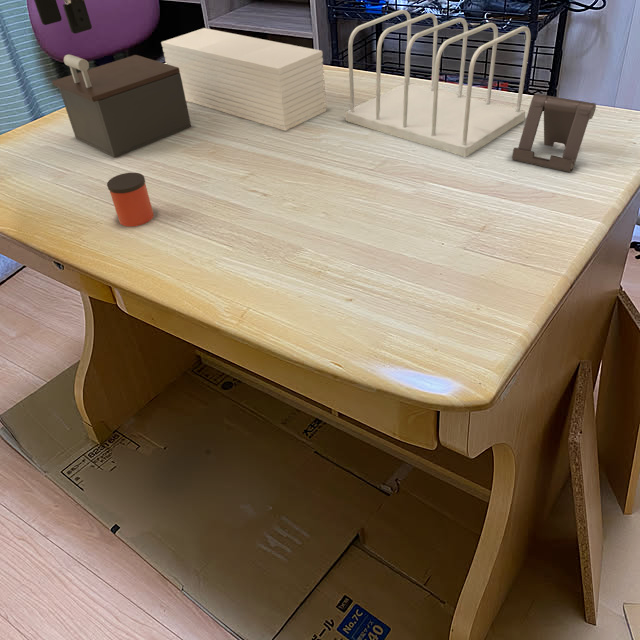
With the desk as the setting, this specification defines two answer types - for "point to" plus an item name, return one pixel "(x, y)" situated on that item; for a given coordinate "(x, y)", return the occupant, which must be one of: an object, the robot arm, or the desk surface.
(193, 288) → the desk surface
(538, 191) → the desk surface
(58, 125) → the desk surface
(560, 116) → the tablet stand
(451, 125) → the file sorter
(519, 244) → the desk surface
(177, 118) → the brown hinged lid box
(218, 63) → the stack of papers
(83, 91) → the brown box lid
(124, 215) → the container
